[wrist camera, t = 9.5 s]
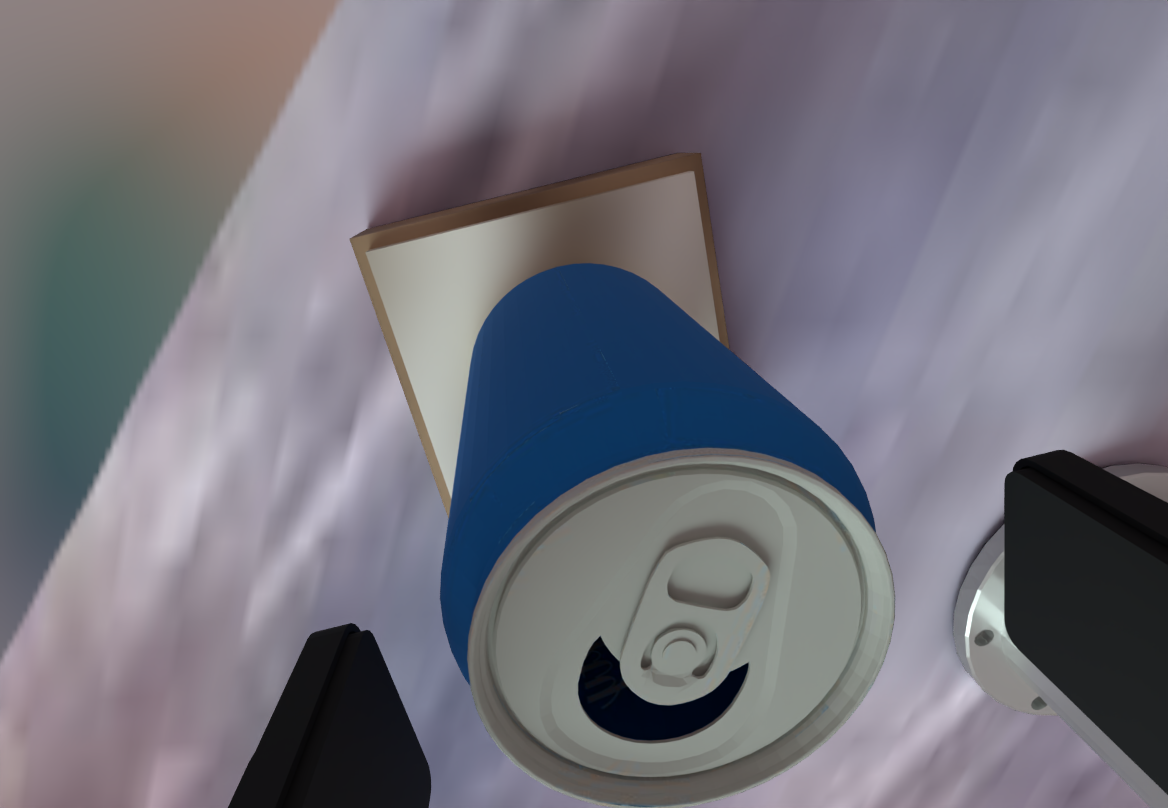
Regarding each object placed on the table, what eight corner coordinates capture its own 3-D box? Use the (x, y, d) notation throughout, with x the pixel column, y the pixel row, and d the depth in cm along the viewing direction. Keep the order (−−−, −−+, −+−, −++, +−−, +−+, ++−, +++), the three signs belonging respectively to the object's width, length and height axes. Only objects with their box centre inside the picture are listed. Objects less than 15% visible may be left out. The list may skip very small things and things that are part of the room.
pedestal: (677, 153, 21) (705, 152, 18) (722, 434, 24) (751, 470, 21) (366, 229, 20) (345, 241, 17) (460, 502, 24) (455, 548, 21)
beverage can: (448, 440, 20) (382, 806, 9) (502, 229, 18) (507, 356, 7) (646, 484, 21) (808, 850, 10) (717, 294, 19) (1017, 488, 8)
